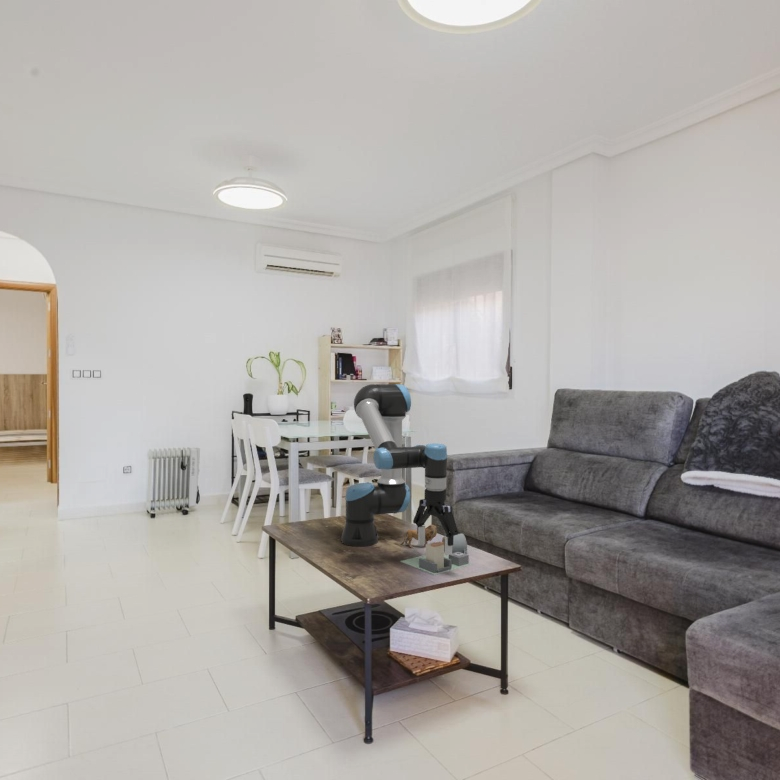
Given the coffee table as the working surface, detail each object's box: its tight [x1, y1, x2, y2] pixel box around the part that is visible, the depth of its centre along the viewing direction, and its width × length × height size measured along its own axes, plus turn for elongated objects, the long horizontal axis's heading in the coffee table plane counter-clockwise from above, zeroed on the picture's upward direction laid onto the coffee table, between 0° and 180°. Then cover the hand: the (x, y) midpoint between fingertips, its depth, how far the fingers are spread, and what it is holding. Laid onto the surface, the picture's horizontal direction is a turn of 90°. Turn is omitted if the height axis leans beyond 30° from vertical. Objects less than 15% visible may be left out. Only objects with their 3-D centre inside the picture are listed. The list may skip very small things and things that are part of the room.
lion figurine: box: [399, 524, 438, 548], centre depth 222 cm, size 15×5×9 cm, turn 83°
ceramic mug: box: [441, 532, 468, 554], centre depth 211 cm, size 11×8×8 cm
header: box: [419, 557, 452, 574], centre depth 194 cm, size 9×8×3 cm
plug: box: [425, 541, 445, 569], centre depth 193 cm, size 4×4×9 cm
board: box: [399, 554, 471, 576], centre depth 199 cm, size 18×18×1 cm
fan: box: [448, 552, 470, 566], centre depth 199 cm, size 5×5×4 cm
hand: (434, 549), depth 194 cm, fingers open, 13 cm apart
